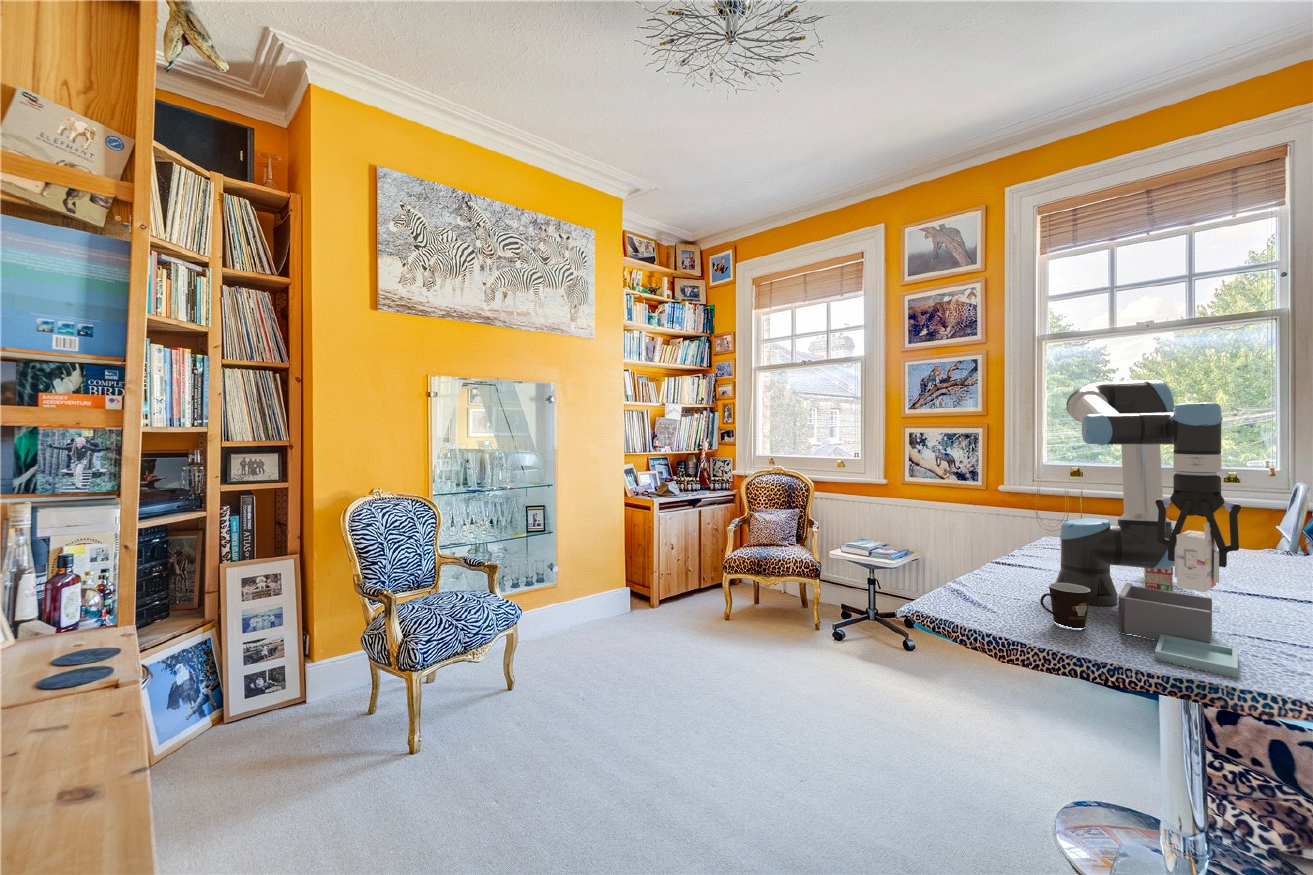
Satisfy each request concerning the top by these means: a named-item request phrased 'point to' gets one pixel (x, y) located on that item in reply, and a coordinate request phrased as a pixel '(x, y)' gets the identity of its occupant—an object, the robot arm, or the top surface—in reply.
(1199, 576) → the ink cartridge box
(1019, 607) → the top surface
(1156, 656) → the tray
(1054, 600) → the coffee mug
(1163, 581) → the stack of blocks
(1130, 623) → the bay
